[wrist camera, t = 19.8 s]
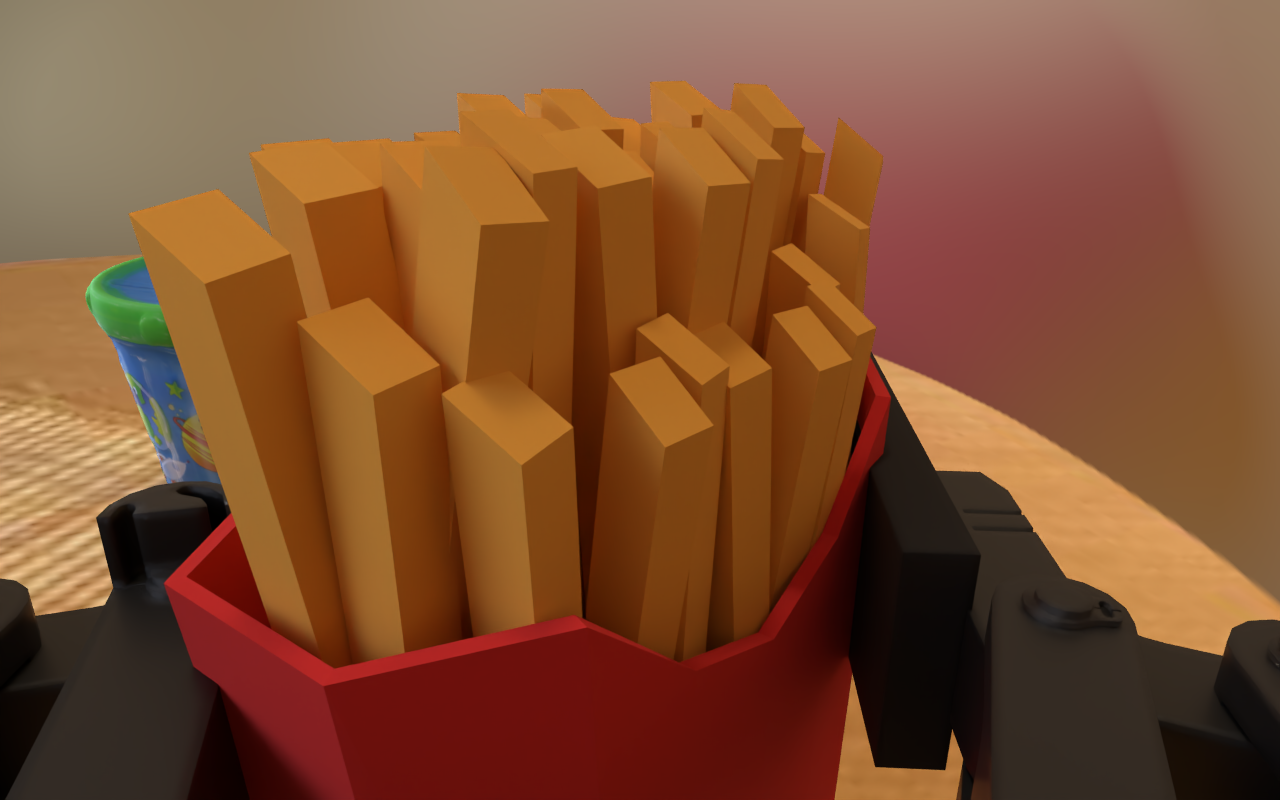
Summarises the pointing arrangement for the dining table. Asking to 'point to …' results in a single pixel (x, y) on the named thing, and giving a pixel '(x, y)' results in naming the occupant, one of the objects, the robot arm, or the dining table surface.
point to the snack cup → (152, 369)
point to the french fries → (533, 452)
